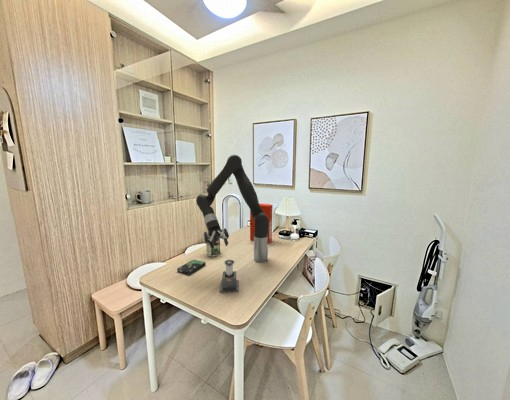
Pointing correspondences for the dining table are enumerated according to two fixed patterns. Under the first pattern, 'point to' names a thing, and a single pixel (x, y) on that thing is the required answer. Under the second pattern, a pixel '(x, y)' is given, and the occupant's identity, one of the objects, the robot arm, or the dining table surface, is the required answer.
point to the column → (229, 268)
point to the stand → (229, 283)
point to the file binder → (268, 212)
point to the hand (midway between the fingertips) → (220, 246)
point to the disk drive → (191, 267)
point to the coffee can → (216, 247)
